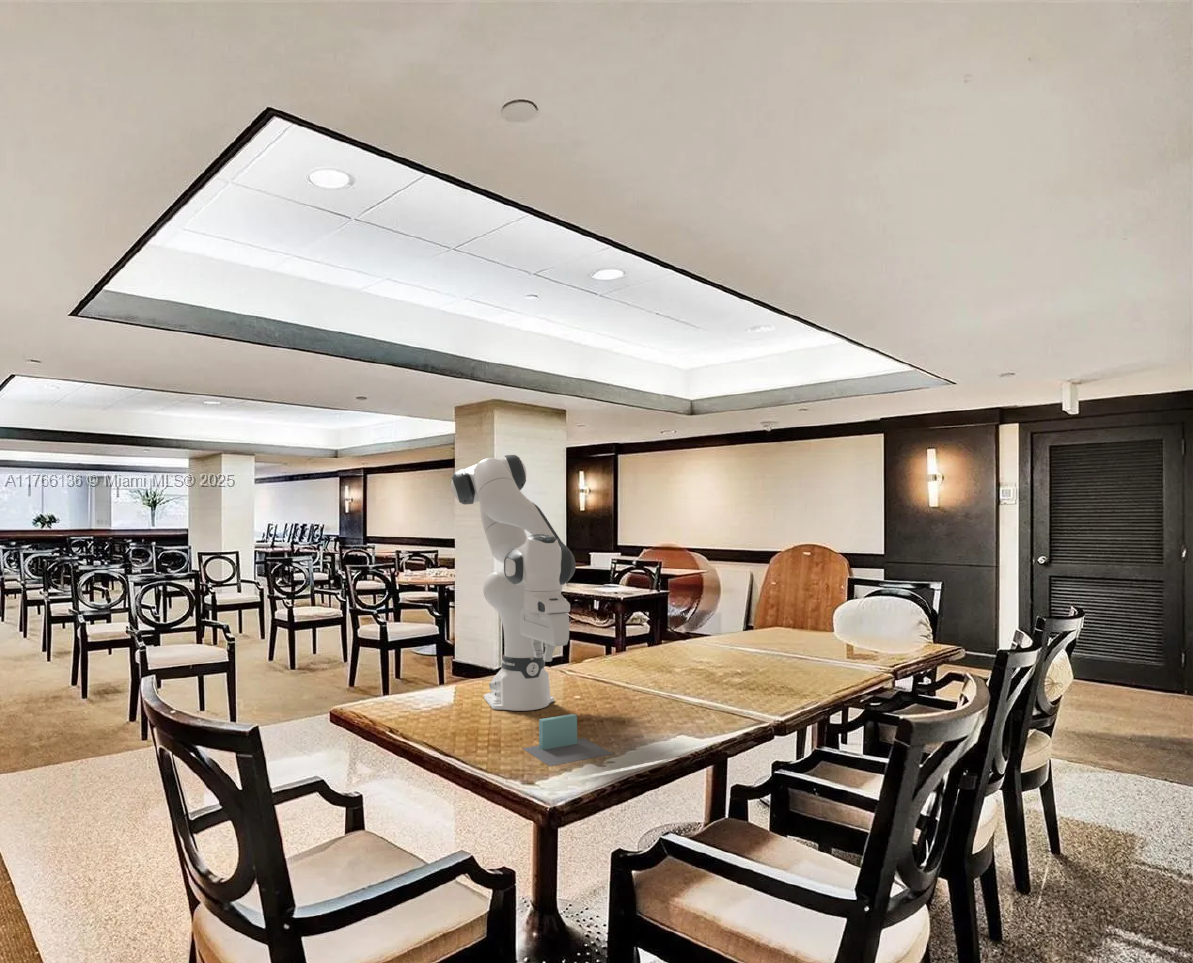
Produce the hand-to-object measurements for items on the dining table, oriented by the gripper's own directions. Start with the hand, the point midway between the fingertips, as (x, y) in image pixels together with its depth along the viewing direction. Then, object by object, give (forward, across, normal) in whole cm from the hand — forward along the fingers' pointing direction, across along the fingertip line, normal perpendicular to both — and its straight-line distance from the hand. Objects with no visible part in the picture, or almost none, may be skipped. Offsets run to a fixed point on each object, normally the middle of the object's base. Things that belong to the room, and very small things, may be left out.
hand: (542, 659), depth 183 cm
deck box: (+18, +8, 0) cm, 20 cm away
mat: (+19, +12, 0) cm, 23 cm away
